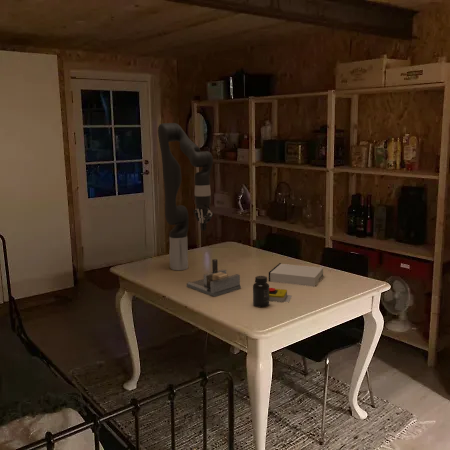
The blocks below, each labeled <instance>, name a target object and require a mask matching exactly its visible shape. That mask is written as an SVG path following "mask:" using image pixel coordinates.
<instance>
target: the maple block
mask: <svg viewBox="0 0 450 450" xmlns="http://www.w3.org/2000/svg"><path fill="white" fill-rule="evenodd" d="M228 276H229V274H227V273H226V274H225V273H222V272H220V273H216V274H213V281H214V280H218V279H221V278H225V277H228Z"/></svg>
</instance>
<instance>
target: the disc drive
mask: <svg viewBox="0 0 450 450" xmlns="http://www.w3.org/2000/svg"><path fill="white" fill-rule="evenodd" d="M323 277H324V267H319V266H307V265H299V264H298V265H297V264H288V263H282V262H279V263H278V264H277V265H275V266H274V267H273V268H272V269H270V271H268V282H273V283H281V284H287V285H288V284H289V285H296V286H297V285H298V286H305V285H306V287H314V286H315V285H317V284H318V283H319V282H320V281H321V279H322V278H323ZM315 287H316V286H315Z"/></svg>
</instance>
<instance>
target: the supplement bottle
mask: <svg viewBox="0 0 450 450" xmlns="http://www.w3.org/2000/svg"><path fill="white" fill-rule="evenodd" d="M254 280H255V282H254V283H253V284H252V304H253V306H255V307H257V308H266V307H269V305H270V301H269V288H270V285H269V283H268V277H267V276H265V275H256V276H255V279H254Z"/></svg>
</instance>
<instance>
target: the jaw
mask: <svg viewBox="0 0 450 450" xmlns="http://www.w3.org/2000/svg"><path fill="white" fill-rule="evenodd" d="M211 263H212V264H211V265H212V270H211V271H212V272H209V273H205V274H203V279H204V287H206V288H210V282H211V281H213V274H216V273H220V272H222V273H225V274H227V269H220V270H219V267H218V266H219V265H218V264H219V263H218V259H217V258H213V259H212V261H211Z"/></svg>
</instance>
